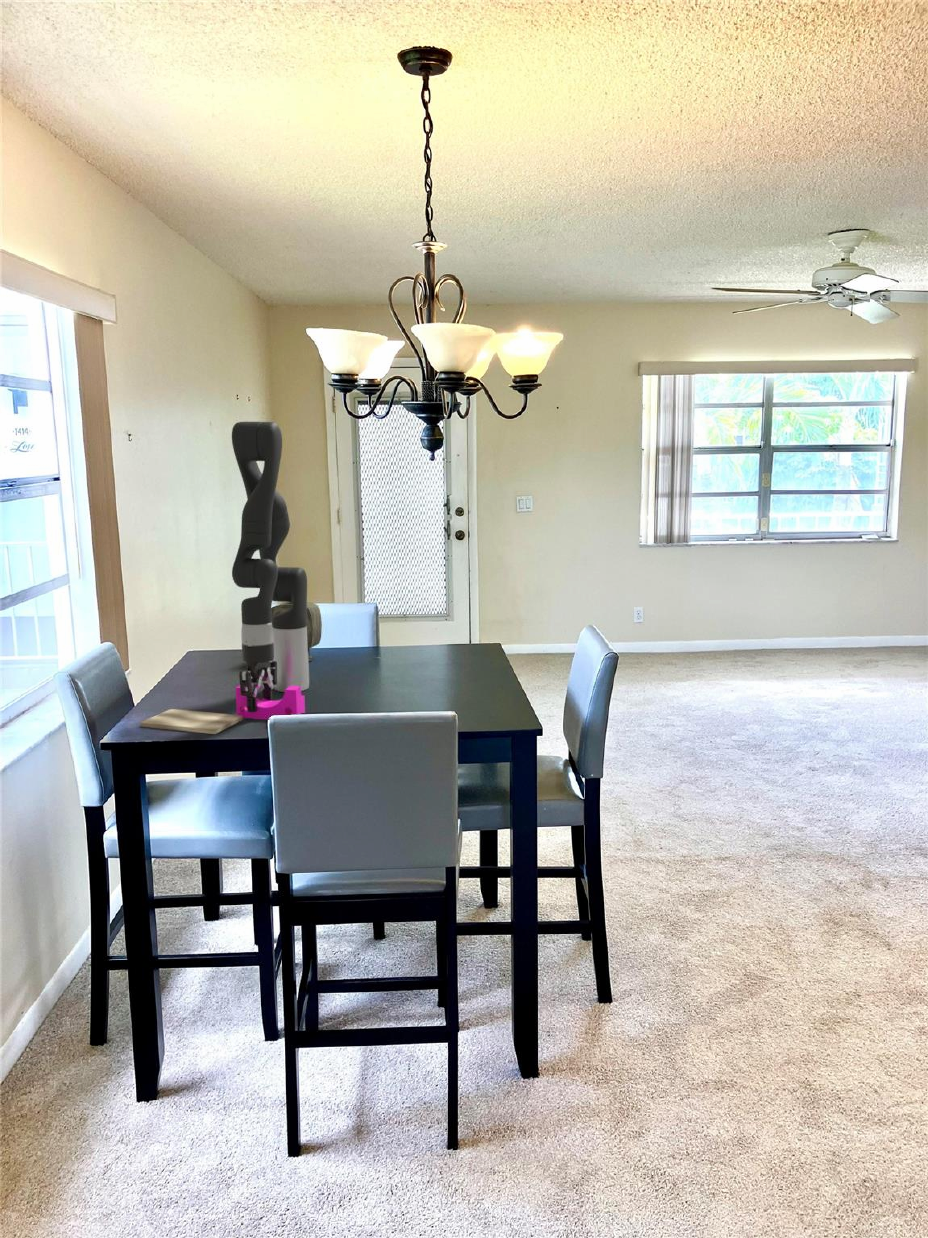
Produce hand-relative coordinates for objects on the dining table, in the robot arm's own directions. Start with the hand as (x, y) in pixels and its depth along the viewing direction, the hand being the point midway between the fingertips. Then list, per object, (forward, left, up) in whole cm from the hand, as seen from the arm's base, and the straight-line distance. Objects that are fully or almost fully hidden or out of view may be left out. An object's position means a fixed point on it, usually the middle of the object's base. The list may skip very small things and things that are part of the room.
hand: (260, 707), depth 216 cm
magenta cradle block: (-1, +3, -2) cm, 3 cm away
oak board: (+11, -12, -2) cm, 16 cm away
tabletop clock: (-59, -21, -2) cm, 63 cm away
